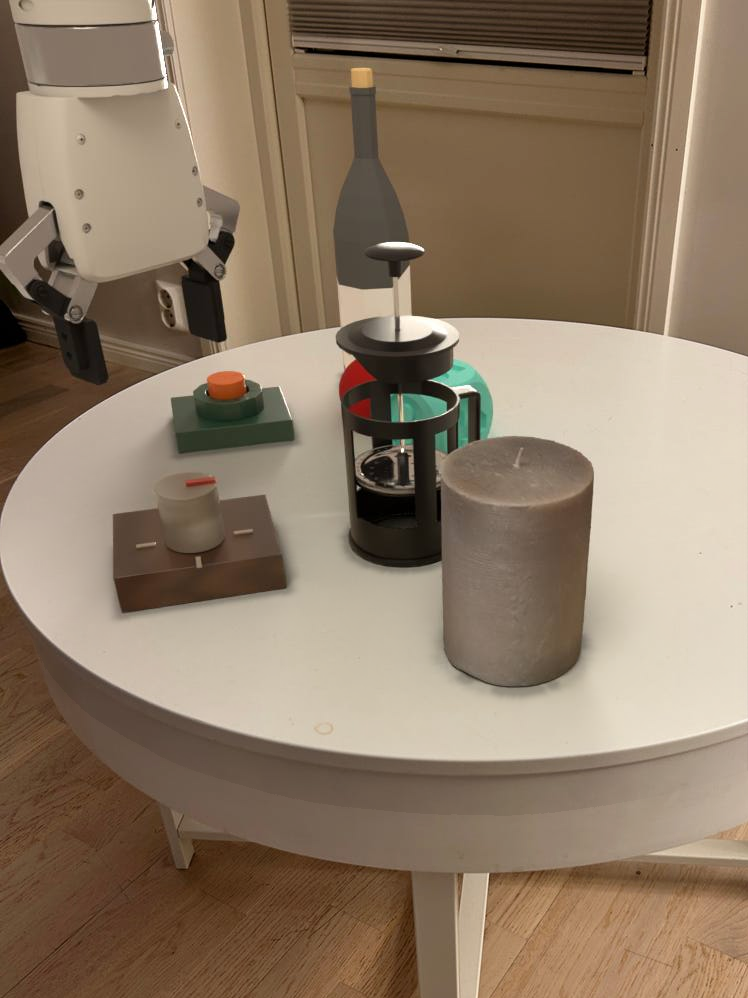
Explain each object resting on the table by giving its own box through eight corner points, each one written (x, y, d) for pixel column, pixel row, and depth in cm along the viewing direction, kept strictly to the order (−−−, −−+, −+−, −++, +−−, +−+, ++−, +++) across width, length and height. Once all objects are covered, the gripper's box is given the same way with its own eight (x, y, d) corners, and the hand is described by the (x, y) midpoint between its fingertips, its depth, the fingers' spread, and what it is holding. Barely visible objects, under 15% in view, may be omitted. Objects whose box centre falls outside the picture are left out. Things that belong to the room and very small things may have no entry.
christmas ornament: (344, 411, 103) (336, 314, 97) (412, 410, 103) (409, 314, 98) (339, 440, 97) (330, 338, 92) (411, 439, 98) (407, 338, 92)
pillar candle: (566, 603, 74) (579, 413, 65) (594, 684, 66) (613, 479, 57) (436, 611, 73) (431, 419, 64) (448, 694, 65) (445, 487, 56)
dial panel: (121, 615, 72) (112, 578, 71) (120, 546, 80) (112, 511, 79) (287, 590, 75) (282, 554, 73) (269, 526, 83) (265, 492, 81)
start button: (210, 403, 95) (207, 386, 94) (207, 390, 98) (205, 372, 97) (248, 399, 96) (246, 382, 95) (244, 386, 99) (242, 369, 98)
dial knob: (166, 557, 73) (154, 499, 70) (164, 529, 77) (152, 472, 74) (227, 548, 74) (218, 491, 71) (222, 521, 78) (213, 465, 75)
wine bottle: (354, 361, 115) (333, 63, 98) (422, 366, 114) (413, 65, 96) (332, 386, 109) (306, 72, 91) (404, 392, 107) (391, 75, 90)
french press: (365, 580, 76) (343, 272, 63) (325, 526, 83) (297, 238, 70) (501, 546, 81) (507, 252, 67) (452, 498, 88) (449, 221, 74)
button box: (179, 454, 95) (171, 414, 92) (174, 417, 102) (167, 380, 99) (294, 440, 97) (290, 401, 95) (282, 406, 104) (278, 369, 102)
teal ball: (493, 449, 96) (495, 368, 91) (442, 479, 91) (441, 395, 86) (428, 428, 100) (426, 350, 95) (376, 456, 94) (371, 374, 90)
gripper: (173, 44, 63) (214, 314, 73) (-90, 69, 52) (1, 384, 62) (255, 52, 60) (286, 334, 70) (-9, 80, 48) (74, 412, 58)
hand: (152, 357), depth 66 cm, fingers open, 9 cm apart
